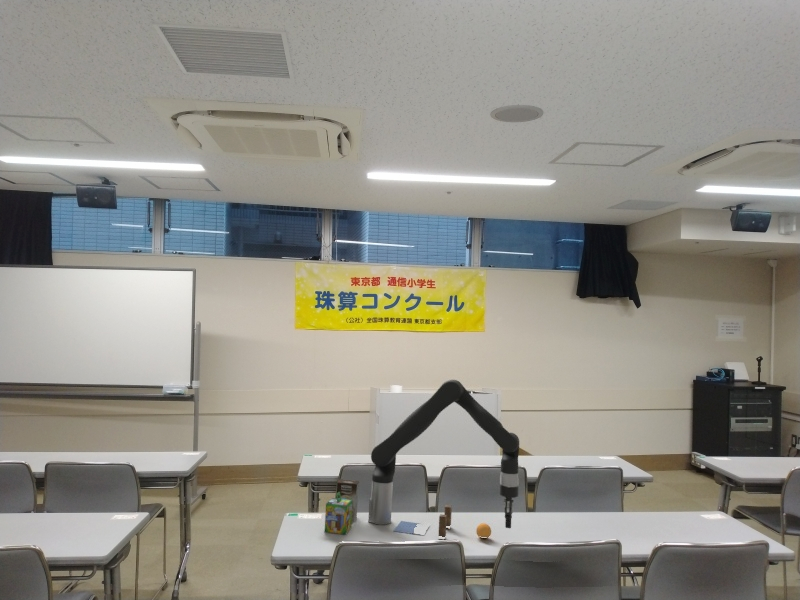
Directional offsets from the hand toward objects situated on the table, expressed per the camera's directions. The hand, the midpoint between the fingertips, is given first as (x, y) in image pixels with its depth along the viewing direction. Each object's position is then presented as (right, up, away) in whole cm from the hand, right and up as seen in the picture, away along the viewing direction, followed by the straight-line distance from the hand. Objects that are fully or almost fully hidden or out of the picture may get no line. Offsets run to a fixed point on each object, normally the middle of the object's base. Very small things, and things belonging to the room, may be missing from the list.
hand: (508, 527), depth 206 cm
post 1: (-27, -4, 0) cm, 27 cm away
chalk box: (-69, -3, +3) cm, 69 cm away
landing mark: (-39, -5, +10) cm, 40 cm away
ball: (-9, -3, +2) cm, 10 cm away
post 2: (-23, -6, +12) cm, 27 cm away
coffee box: (-68, -4, +17) cm, 70 cm away
